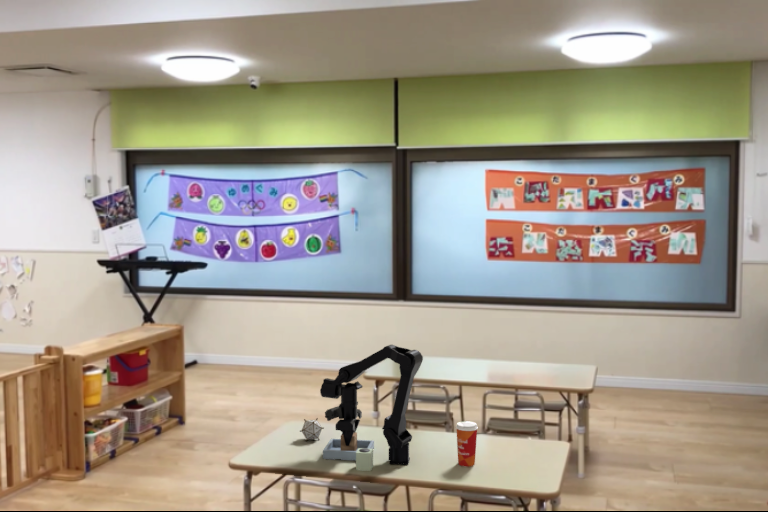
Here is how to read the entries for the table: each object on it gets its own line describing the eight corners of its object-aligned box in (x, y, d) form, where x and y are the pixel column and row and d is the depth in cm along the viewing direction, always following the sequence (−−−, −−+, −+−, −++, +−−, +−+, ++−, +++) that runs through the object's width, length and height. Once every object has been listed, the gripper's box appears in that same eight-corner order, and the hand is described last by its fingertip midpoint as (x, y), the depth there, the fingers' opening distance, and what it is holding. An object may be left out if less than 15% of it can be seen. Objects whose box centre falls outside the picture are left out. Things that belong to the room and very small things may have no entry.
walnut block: (357, 448, 273) (357, 431, 273) (354, 453, 269) (354, 435, 268) (343, 448, 274) (343, 431, 274) (340, 452, 269) (340, 435, 269)
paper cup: (451, 462, 263) (451, 422, 262) (470, 459, 266) (471, 419, 265) (462, 469, 256) (462, 428, 255) (482, 466, 259) (482, 425, 258)
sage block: (373, 466, 259) (373, 448, 258) (370, 471, 254) (370, 452, 253) (358, 465, 259) (358, 447, 259) (355, 470, 254) (355, 452, 254)
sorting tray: (374, 448, 277) (374, 440, 277) (367, 461, 263) (367, 452, 263) (331, 446, 279) (331, 438, 279) (322, 458, 266) (322, 450, 265)
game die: (315, 450, 286) (318, 434, 280) (294, 441, 288) (298, 425, 282) (324, 433, 293) (328, 417, 287) (305, 424, 295) (308, 408, 288)
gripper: (332, 393, 281) (332, 434, 282) (321, 406, 262) (321, 450, 263) (361, 394, 279) (362, 435, 280) (352, 407, 261) (352, 451, 262)
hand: (349, 443), depth 271 cm, fingers open, 6 cm apart
